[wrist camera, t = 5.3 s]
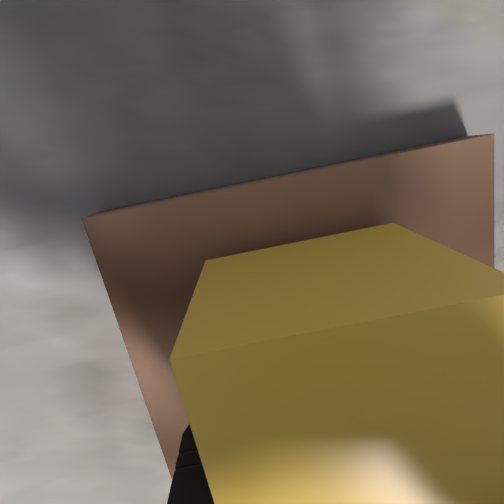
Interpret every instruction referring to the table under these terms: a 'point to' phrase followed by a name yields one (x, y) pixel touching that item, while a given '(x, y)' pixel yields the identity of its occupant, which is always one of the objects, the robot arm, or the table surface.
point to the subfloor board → (275, 240)
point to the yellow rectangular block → (347, 372)
